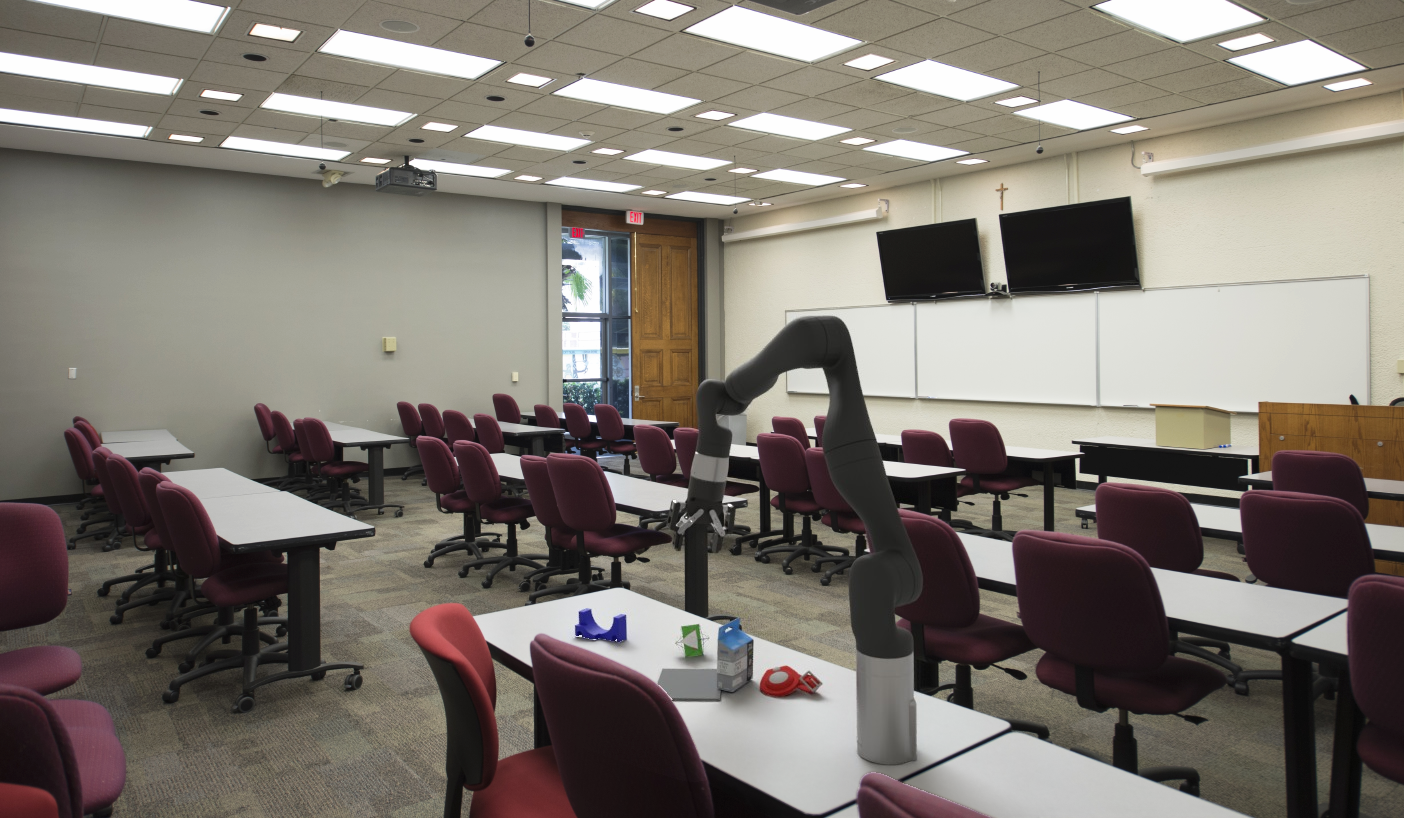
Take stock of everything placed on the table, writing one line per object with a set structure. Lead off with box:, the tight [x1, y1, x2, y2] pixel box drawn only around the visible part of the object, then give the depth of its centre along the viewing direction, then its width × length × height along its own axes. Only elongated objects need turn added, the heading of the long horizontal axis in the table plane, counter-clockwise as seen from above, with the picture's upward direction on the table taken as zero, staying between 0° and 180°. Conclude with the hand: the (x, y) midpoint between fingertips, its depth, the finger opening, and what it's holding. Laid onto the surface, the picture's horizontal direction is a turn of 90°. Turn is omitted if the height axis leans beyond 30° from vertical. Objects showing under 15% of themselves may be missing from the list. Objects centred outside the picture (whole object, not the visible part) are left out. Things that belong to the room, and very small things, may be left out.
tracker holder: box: [759, 665, 824, 698], centre depth 170 cm, size 12×4×10 cm
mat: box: [656, 668, 722, 702], centre depth 172 cm, size 13×16×1 cm
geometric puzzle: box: [674, 623, 709, 659], centre depth 190 cm, size 7×7×8 cm
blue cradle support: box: [574, 607, 628, 643], centre depth 203 cm, size 12×4×6 cm, turn 58°
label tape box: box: [716, 617, 755, 693], centre depth 171 cm, size 9×4×12 cm, turn 149°
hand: (696, 551), depth 179 cm, fingers open, 8 cm apart
